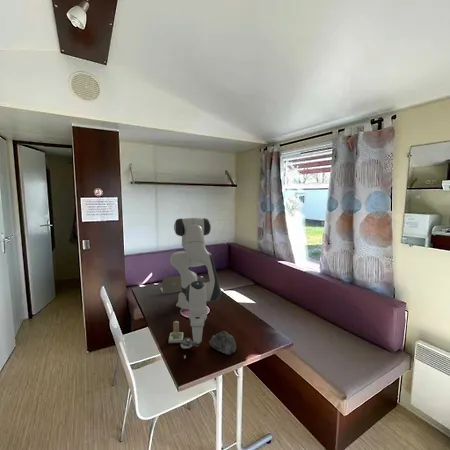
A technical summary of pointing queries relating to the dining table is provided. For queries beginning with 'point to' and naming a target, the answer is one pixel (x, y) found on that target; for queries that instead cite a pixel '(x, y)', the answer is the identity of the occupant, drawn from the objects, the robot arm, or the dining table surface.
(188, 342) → the crank
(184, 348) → the crank base
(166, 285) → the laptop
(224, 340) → the mineral rock
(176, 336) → the stop pin
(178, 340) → the dish
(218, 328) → the dining table surface
